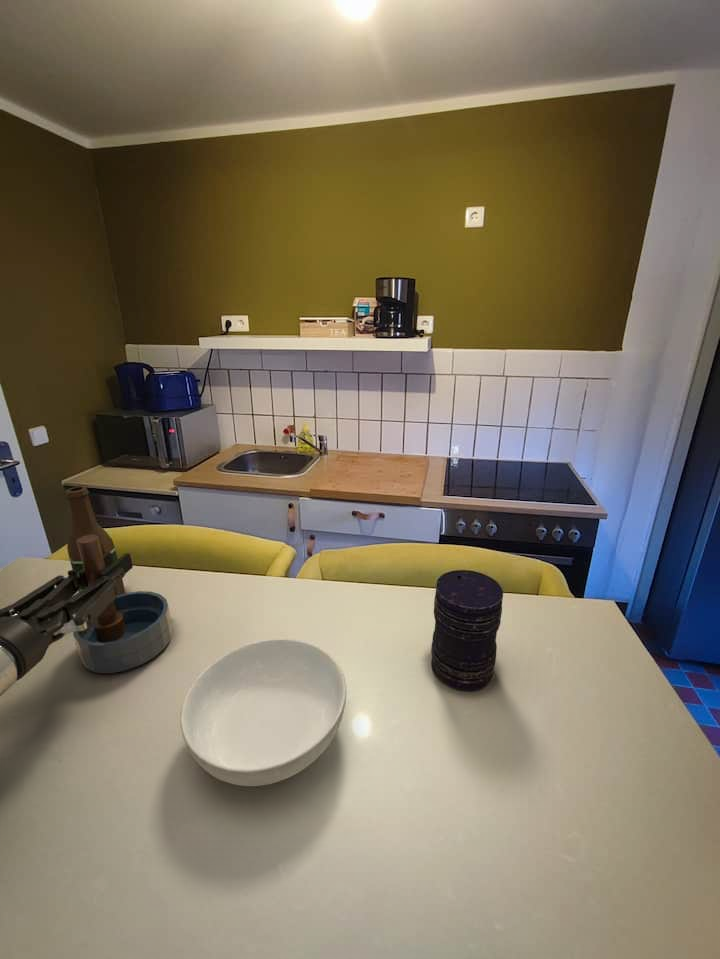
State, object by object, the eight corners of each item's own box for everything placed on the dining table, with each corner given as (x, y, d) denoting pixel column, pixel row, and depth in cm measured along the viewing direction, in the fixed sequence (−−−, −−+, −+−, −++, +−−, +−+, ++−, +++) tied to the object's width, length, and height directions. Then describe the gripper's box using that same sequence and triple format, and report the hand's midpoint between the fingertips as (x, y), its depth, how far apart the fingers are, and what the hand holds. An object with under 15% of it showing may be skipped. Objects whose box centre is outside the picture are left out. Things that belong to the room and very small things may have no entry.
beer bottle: (124, 606, 84) (96, 492, 75) (78, 616, 81) (44, 499, 73) (128, 585, 91) (103, 479, 82) (86, 593, 88) (56, 484, 80)
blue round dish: (62, 661, 70) (52, 631, 68) (133, 611, 82) (127, 584, 80) (123, 686, 65) (115, 655, 63) (190, 629, 77) (185, 601, 75)
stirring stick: (90, 639, 71) (63, 542, 64) (113, 622, 74) (90, 530, 68) (109, 646, 69) (83, 547, 63) (132, 629, 73) (110, 534, 67)
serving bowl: (368, 692, 64) (367, 655, 61) (304, 843, 45) (300, 799, 43) (248, 658, 70) (244, 623, 68) (150, 778, 52) (139, 736, 50)
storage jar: (506, 684, 65) (518, 601, 60) (448, 699, 62) (455, 614, 57) (472, 640, 74) (480, 565, 69) (420, 652, 71) (424, 575, 66)
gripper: (-55, 679, 53) (82, 575, 75) (60, 691, 52) (166, 581, 73) (-77, 630, 51) (72, 537, 73) (43, 641, 49) (159, 542, 71)
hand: (119, 559), depth 73 cm, fingers closed on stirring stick, 3 cm apart
